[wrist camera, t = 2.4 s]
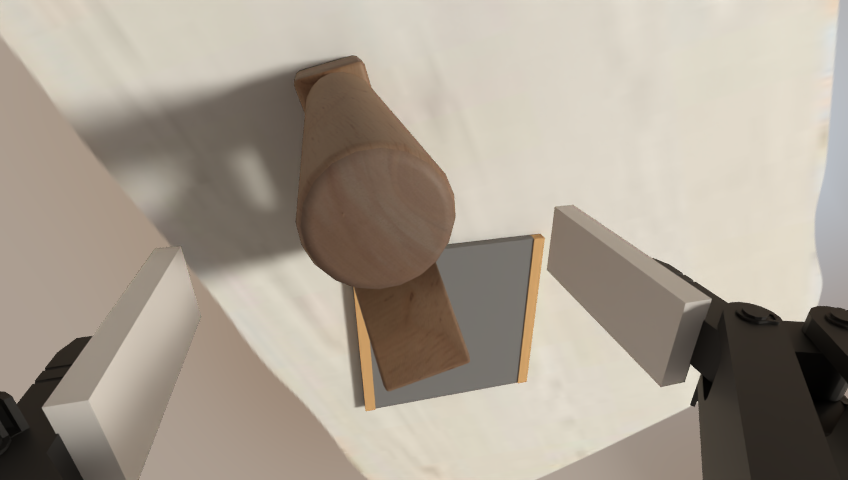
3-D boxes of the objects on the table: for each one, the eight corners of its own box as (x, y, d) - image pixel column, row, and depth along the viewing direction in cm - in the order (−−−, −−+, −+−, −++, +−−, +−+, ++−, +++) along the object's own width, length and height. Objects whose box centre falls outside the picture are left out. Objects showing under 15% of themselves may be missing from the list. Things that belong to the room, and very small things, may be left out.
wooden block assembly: (355, 237, 29) (404, 487, 14) (293, 71, 24) (257, 168, 8) (407, 220, 30) (514, 445, 14) (357, 53, 24) (439, 112, 9)
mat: (350, 255, 30) (351, 260, 29) (540, 233, 32) (544, 238, 32) (364, 404, 36) (365, 411, 35) (523, 375, 39) (526, 381, 38)
